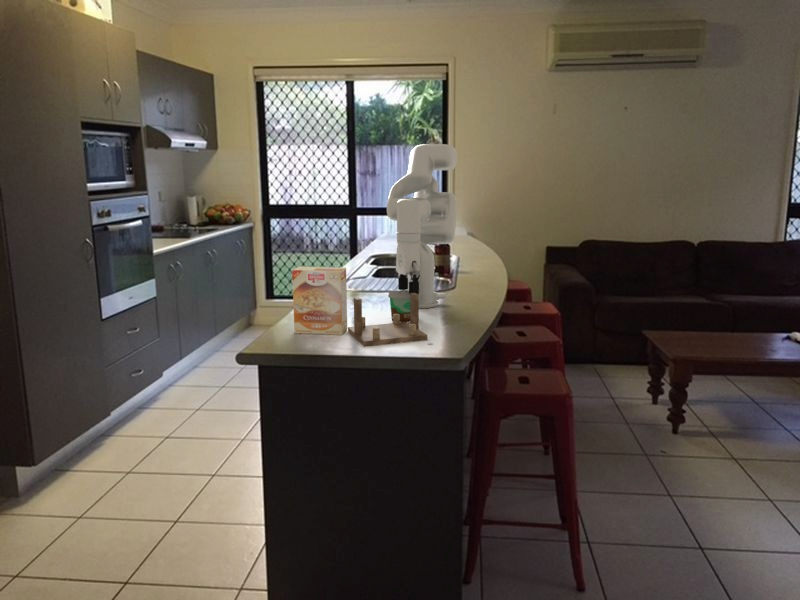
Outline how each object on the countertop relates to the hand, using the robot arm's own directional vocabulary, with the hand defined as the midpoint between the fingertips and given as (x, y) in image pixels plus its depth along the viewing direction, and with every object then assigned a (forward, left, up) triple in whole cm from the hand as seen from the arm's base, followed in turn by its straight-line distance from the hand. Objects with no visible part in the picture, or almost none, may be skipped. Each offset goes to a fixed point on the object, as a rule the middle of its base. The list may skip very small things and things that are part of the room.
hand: (408, 291), depth 212 cm
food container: (0, -1, -10) cm, 10 cm away
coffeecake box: (+30, +3, -10) cm, 31 cm away
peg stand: (+13, +15, -10) cm, 22 cm away
